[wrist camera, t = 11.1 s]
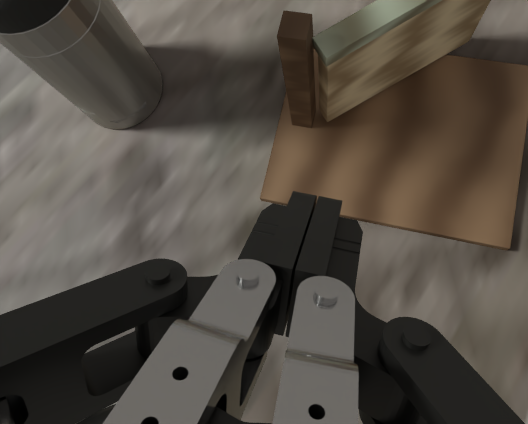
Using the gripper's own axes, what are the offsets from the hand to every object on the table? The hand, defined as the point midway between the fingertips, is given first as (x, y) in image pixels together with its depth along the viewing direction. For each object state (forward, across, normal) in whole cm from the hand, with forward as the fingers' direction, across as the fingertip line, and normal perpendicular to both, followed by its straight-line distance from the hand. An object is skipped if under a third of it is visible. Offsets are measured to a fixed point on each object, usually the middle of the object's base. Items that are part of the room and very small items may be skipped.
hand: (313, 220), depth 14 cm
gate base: (+32, -4, +10) cm, 34 cm away
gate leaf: (+35, -3, +5) cm, 36 cm away
